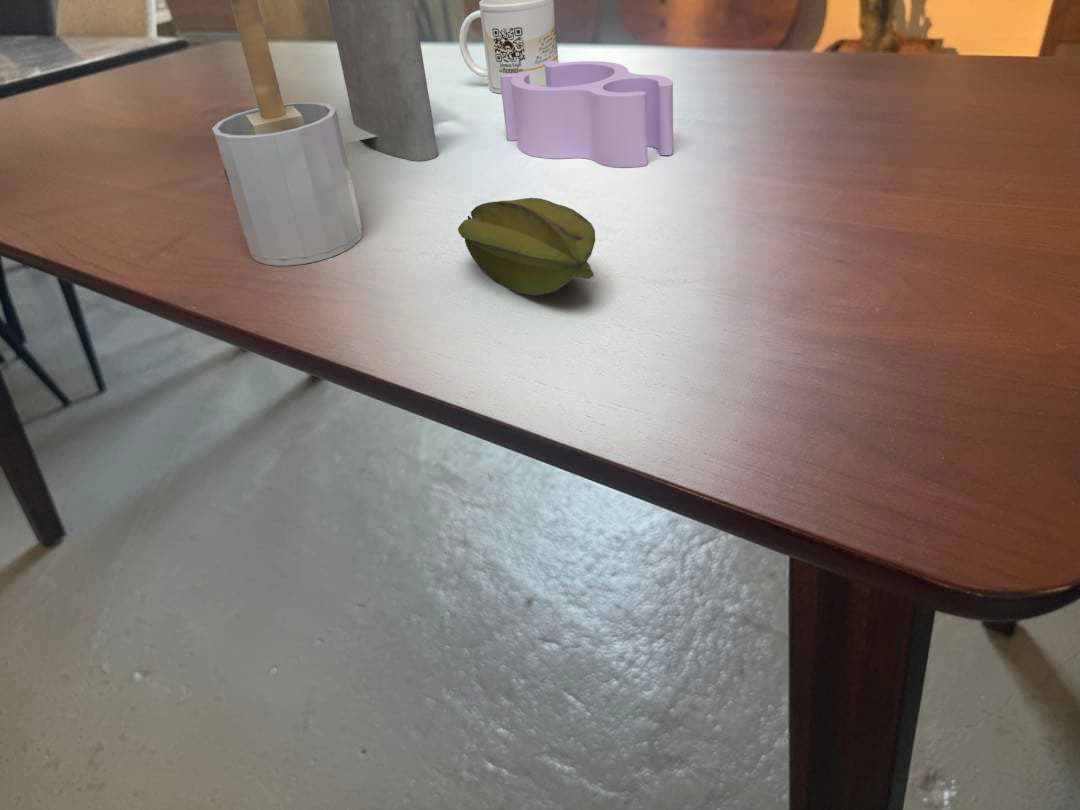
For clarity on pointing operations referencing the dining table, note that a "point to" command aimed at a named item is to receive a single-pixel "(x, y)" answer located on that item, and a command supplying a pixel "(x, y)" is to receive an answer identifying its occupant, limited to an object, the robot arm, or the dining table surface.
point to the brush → (262, 73)
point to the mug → (513, 39)
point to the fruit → (529, 244)
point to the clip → (590, 113)
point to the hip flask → (385, 75)
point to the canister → (291, 186)
